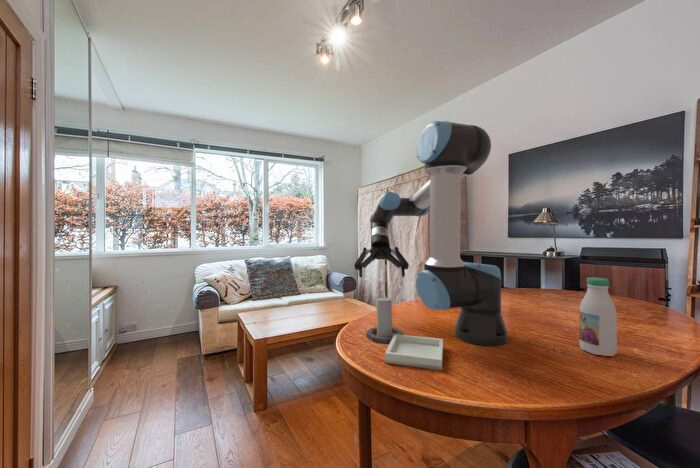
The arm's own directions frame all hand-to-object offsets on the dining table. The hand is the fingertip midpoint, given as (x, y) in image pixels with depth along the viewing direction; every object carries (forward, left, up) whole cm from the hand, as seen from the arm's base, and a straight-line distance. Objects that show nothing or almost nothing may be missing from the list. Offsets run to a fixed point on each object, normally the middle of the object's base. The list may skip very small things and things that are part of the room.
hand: (382, 284), depth 103 cm
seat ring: (-3, +10, -15) cm, 18 cm away
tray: (-14, +21, -15) cm, 29 cm away
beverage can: (-3, +10, -15) cm, 18 cm away
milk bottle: (-61, +5, -15) cm, 63 cm away
